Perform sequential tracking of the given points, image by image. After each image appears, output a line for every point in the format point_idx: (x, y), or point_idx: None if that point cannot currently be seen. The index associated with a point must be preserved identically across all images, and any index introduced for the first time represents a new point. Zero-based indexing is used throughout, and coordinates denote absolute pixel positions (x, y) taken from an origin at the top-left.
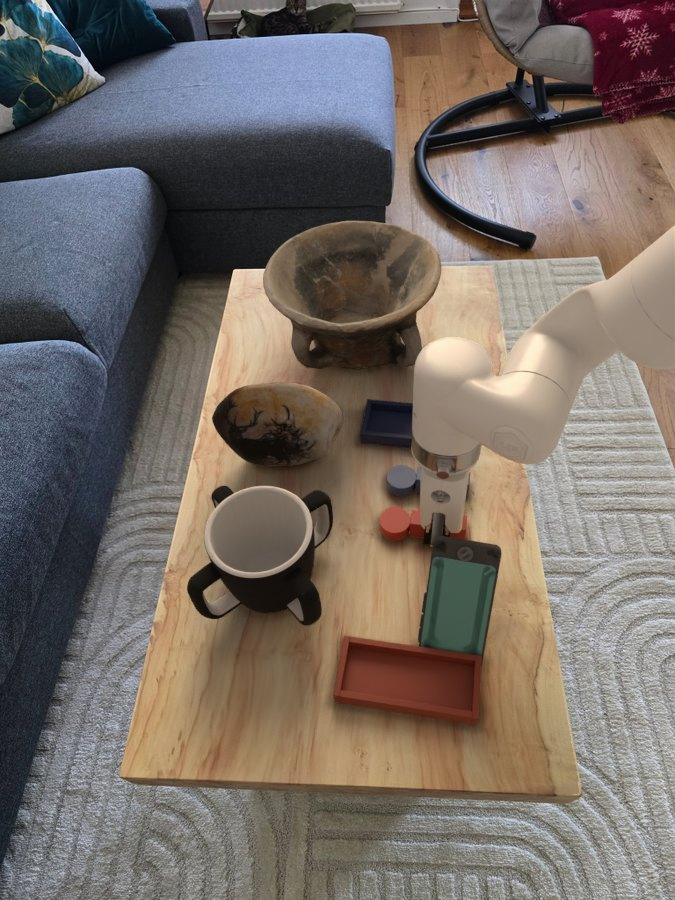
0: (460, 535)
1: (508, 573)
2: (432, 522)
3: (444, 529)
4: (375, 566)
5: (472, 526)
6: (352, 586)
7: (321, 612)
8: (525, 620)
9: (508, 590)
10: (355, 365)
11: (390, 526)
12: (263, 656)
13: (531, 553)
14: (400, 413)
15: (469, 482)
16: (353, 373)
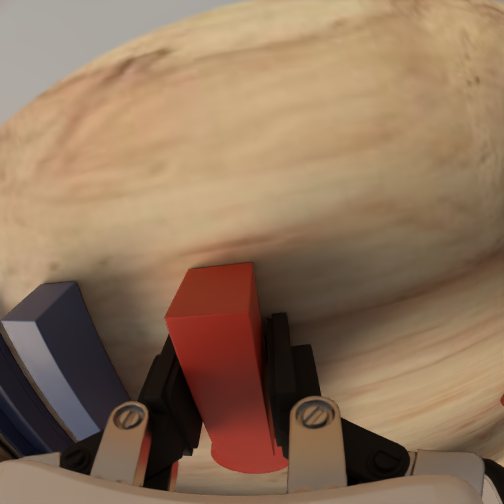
0: (253, 303)
1: (343, 77)
2: (287, 458)
3: (375, 476)
4: (369, 428)
5: (168, 245)
6: (411, 437)
7: (502, 476)
8: (477, 40)
9: (409, 78)
10: (4, 455)
11: (278, 459)
12: (484, 451)
13: (225, 9)
14: (7, 416)
15: (27, 321)
16: (12, 448)
